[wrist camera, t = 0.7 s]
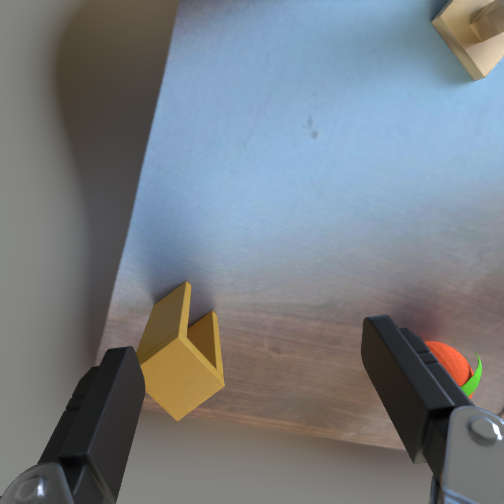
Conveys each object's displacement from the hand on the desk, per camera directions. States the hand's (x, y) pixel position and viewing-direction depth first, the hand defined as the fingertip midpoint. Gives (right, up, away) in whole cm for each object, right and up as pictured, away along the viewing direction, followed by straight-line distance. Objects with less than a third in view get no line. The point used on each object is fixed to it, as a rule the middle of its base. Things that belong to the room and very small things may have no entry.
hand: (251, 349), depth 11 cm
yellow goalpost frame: (-6, -2, +20) cm, 21 cm away
